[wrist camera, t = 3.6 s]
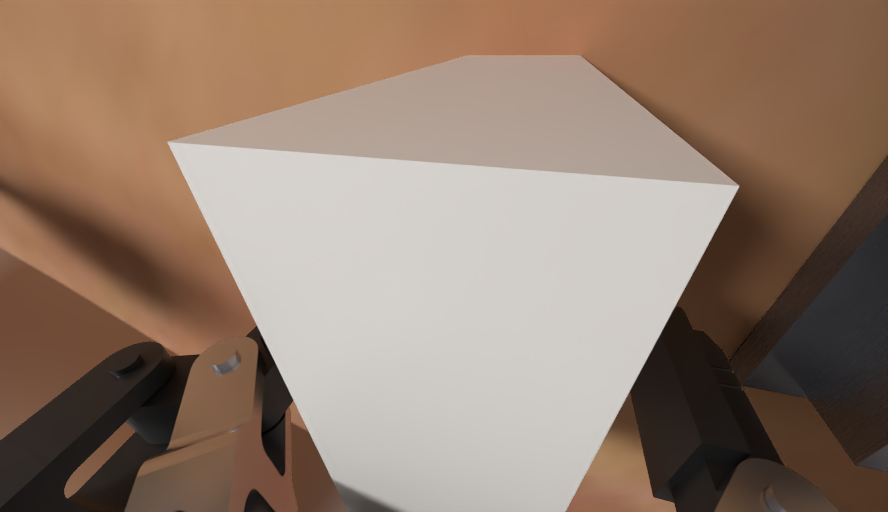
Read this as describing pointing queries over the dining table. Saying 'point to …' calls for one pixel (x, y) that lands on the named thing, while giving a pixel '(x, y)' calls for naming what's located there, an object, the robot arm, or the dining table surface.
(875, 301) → the rack
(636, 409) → the robot arm
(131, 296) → the dining table surface
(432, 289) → the panel
